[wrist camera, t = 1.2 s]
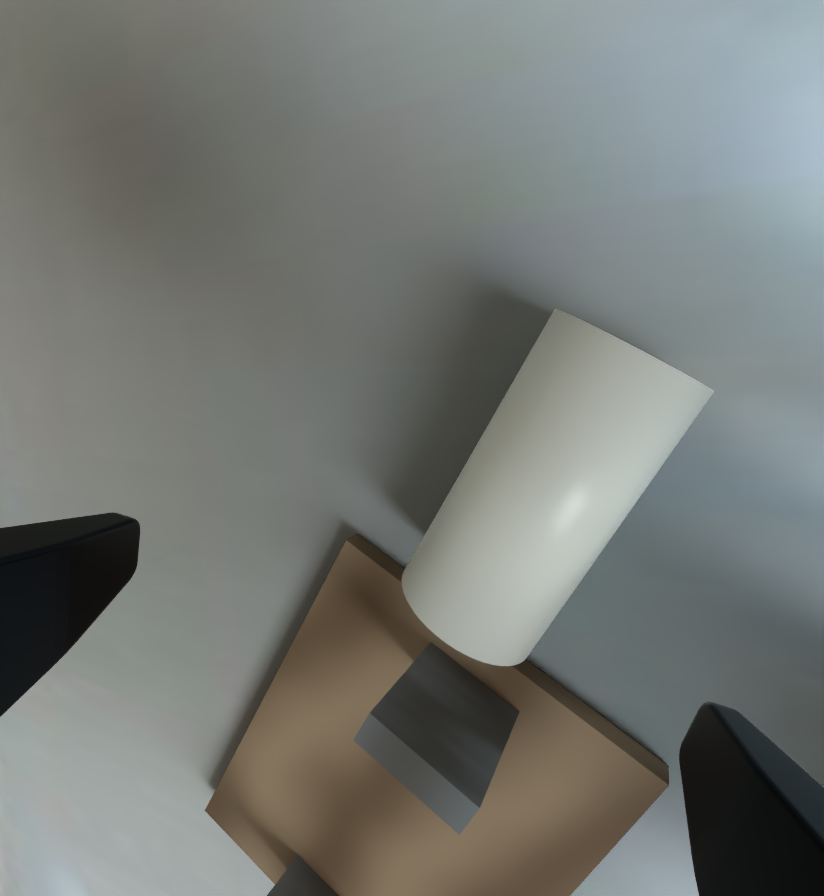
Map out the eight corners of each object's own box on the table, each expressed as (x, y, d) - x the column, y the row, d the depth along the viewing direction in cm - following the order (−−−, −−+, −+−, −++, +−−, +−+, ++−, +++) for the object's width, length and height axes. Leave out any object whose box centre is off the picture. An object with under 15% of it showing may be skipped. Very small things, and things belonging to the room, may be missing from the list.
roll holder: (668, 765, 19) (673, 920, 14) (440, 1024, 24) (377, 1211, 19) (358, 534, 23) (266, 580, 18) (219, 796, 28) (114, 896, 23)
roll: (720, 398, 17) (704, 381, 13) (550, 637, 20) (491, 689, 16) (583, 327, 19) (530, 293, 15) (448, 551, 22) (373, 576, 18)
